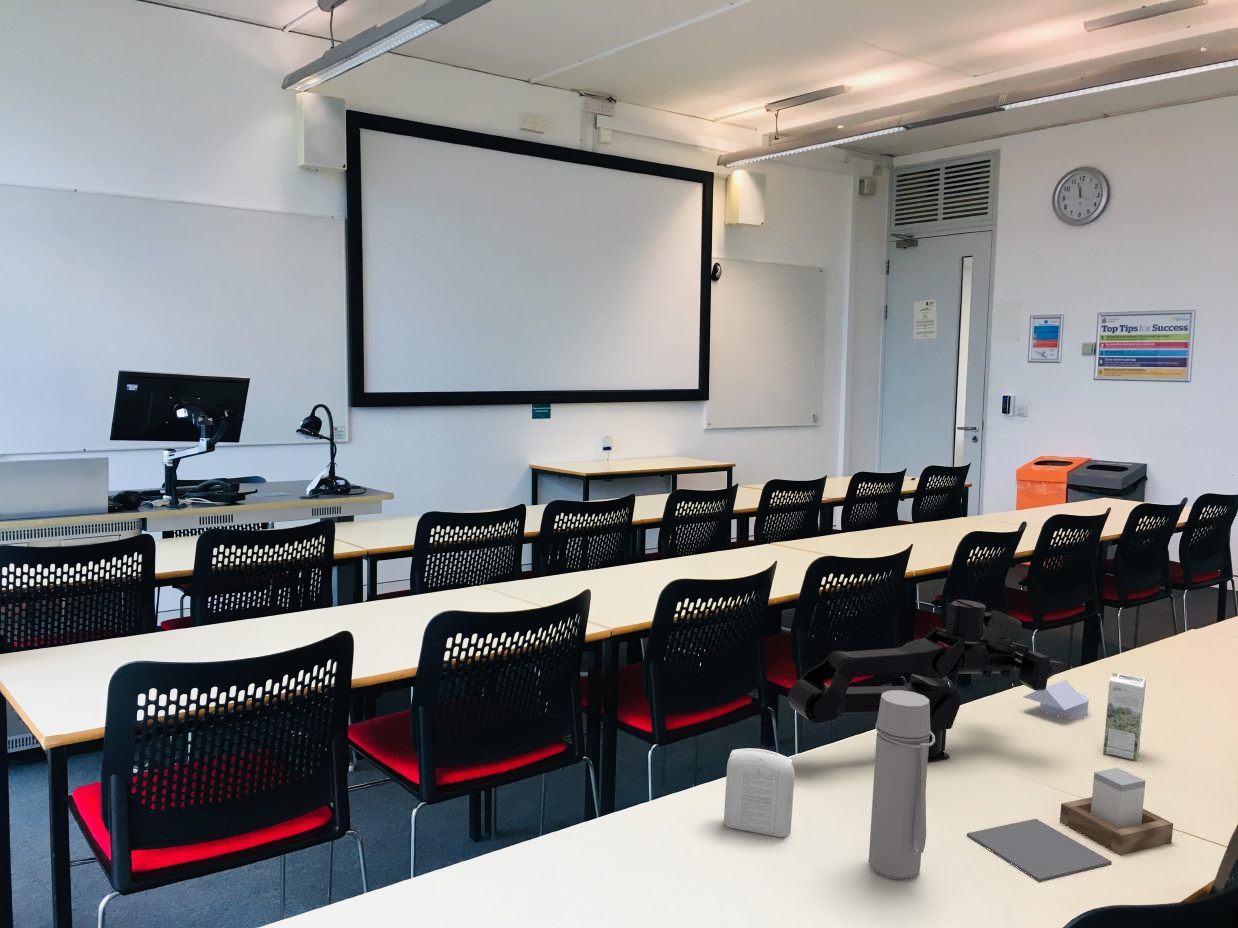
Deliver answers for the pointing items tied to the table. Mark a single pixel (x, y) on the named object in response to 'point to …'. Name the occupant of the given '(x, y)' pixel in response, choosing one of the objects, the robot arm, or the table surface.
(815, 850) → the table surface
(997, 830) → the rubber mat
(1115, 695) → the syrup box
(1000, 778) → the table surface
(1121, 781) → the grey parts box
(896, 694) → the water bottle
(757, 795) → the grey flat block
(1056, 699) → the lavender angled block
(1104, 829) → the frame
